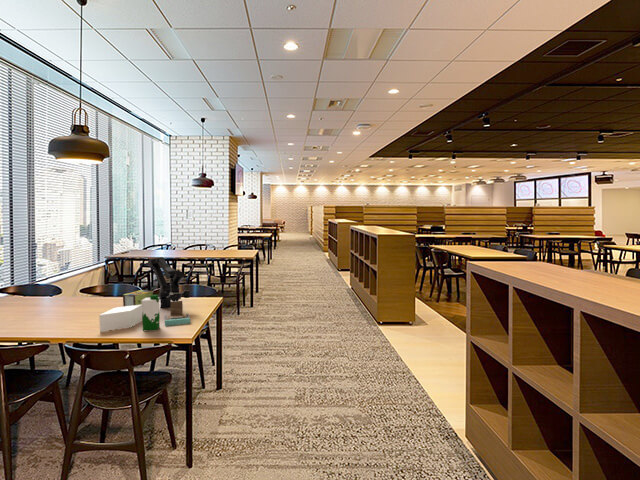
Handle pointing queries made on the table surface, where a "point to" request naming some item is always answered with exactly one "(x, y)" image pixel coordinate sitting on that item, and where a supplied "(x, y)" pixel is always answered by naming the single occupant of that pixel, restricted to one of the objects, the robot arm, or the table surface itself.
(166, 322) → the bay
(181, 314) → the wooden drawer
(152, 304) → the milk carton
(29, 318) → the table surface
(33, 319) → the table surface
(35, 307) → the table surface
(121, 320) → the white block
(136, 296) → the protein box
